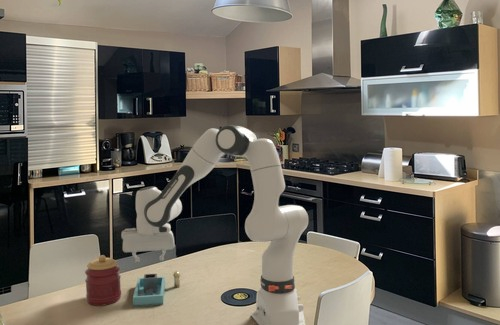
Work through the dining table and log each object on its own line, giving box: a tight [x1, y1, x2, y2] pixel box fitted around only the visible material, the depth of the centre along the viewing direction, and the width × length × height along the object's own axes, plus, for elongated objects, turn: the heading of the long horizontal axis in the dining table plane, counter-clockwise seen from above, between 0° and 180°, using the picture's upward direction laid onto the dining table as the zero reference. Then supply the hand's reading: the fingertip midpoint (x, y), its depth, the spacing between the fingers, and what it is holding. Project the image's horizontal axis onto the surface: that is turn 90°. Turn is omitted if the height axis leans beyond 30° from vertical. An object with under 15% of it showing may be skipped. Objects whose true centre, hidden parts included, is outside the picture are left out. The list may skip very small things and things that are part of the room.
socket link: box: [142, 273, 158, 296], centre depth 181 cm, size 11×5×6 cm, turn 8°
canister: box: [84, 254, 122, 306], centre depth 176 cm, size 13×13×18 cm
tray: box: [132, 276, 166, 308], centre depth 181 cm, size 20×11×4 cm, turn 8°
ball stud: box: [172, 270, 181, 289], centre depth 189 cm, size 3×3×7 cm
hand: (149, 261), depth 182 cm, fingers open, 8 cm apart
